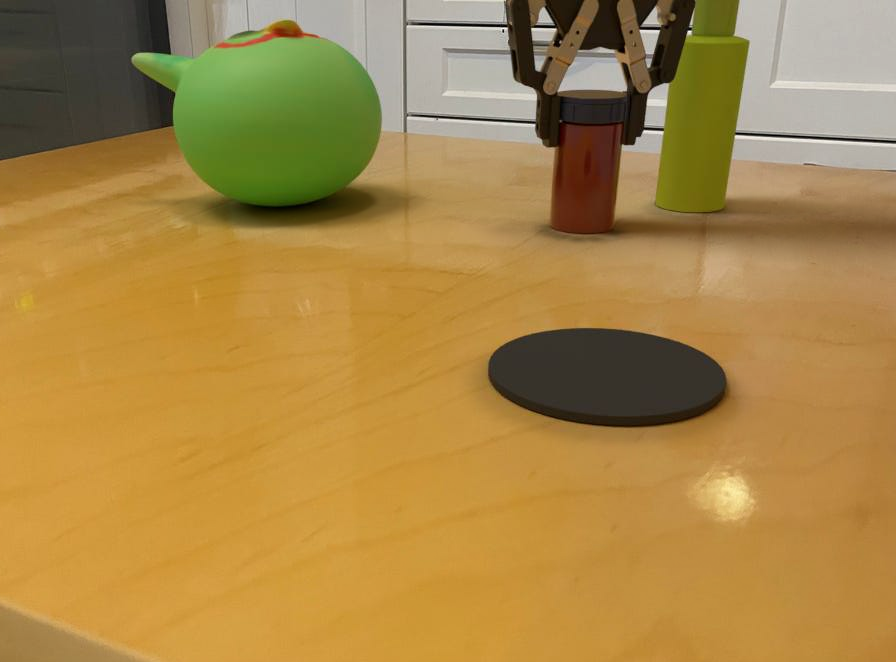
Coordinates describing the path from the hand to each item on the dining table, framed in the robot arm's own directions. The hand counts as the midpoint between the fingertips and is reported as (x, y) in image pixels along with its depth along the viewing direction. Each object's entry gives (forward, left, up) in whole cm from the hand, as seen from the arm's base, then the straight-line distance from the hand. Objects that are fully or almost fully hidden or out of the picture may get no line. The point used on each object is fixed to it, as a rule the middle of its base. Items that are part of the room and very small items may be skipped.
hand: (587, 144), depth 73 cm
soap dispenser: (-12, -6, -6) cm, 15 cm away
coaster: (+8, +31, -6) cm, 33 cm away
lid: (0, 0, +3) cm, 3 cm away
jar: (0, 0, -6) cm, 6 cm away
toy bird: (+24, -12, -6) cm, 28 cm away
